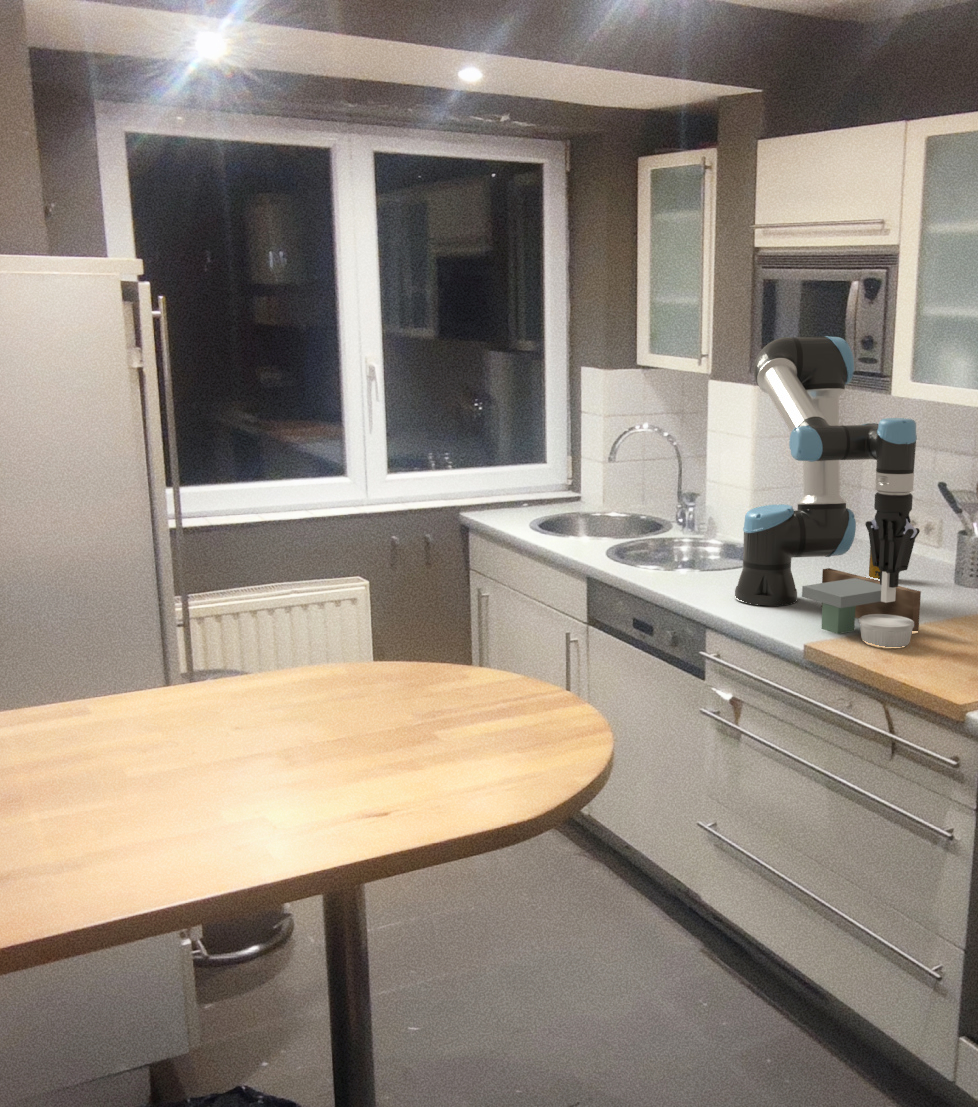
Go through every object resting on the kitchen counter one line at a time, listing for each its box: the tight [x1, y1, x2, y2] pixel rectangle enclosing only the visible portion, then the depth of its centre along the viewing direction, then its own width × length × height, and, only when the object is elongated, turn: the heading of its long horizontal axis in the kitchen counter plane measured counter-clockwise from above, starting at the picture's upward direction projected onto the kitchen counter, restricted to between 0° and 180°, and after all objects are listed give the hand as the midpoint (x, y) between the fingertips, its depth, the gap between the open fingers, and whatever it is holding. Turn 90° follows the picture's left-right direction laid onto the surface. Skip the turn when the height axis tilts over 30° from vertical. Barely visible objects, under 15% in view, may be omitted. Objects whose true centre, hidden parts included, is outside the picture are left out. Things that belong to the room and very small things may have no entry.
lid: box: [801, 578, 882, 608], centre depth 248 cm, size 12×16×2 cm
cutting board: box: [820, 567, 922, 632], centre depth 256 cm, size 28×2×10 cm, turn 27°
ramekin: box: [858, 614, 914, 647], centre depth 237 cm, size 11×11×5 cm
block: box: [820, 603, 856, 635], centre depth 248 cm, size 5×5×6 cm
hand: (887, 601), depth 238 cm, fingers closed
